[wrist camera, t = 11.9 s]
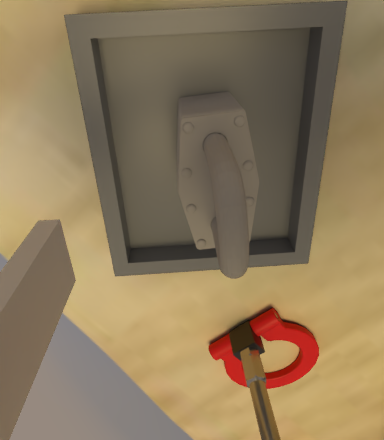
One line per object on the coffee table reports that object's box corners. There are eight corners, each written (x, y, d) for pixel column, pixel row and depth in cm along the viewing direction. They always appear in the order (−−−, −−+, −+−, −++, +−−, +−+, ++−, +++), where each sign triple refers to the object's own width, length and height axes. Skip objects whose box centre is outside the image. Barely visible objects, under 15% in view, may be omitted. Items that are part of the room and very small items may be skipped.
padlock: (244, 202, 23) (289, 312, 14) (183, 210, 23) (191, 324, 14) (239, 89, 19) (295, 142, 11) (167, 98, 19) (164, 158, 11)
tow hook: (330, 350, 32) (279, 297, 28) (416, 527, 21) (354, 483, 17) (255, 389, 35) (198, 345, 31) (299, 565, 24) (219, 535, 20)
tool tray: (326, 3, 18) (347, 0, 16) (296, 243, 25) (308, 263, 23) (77, 16, 18) (64, 14, 16) (119, 254, 25) (115, 276, 23)
